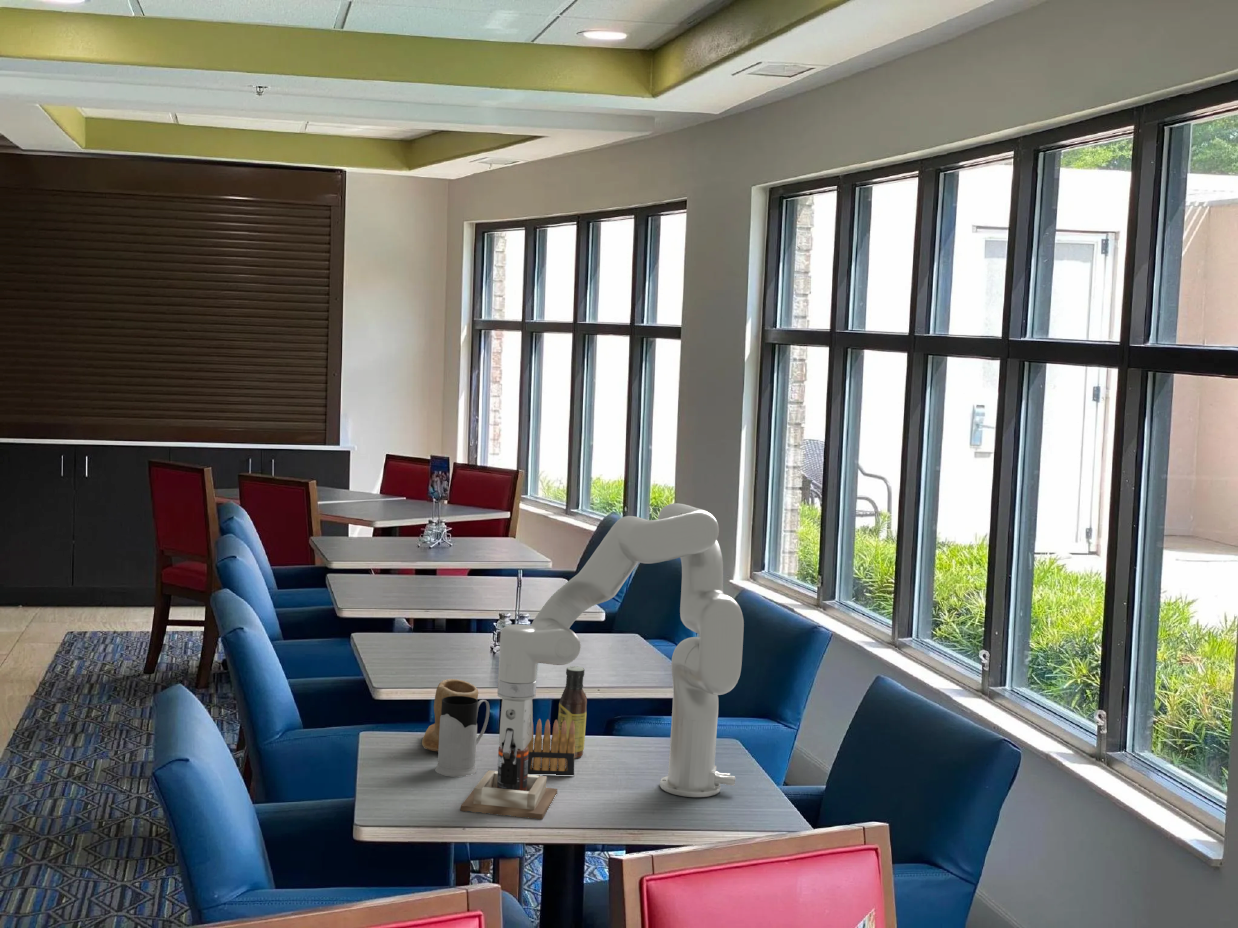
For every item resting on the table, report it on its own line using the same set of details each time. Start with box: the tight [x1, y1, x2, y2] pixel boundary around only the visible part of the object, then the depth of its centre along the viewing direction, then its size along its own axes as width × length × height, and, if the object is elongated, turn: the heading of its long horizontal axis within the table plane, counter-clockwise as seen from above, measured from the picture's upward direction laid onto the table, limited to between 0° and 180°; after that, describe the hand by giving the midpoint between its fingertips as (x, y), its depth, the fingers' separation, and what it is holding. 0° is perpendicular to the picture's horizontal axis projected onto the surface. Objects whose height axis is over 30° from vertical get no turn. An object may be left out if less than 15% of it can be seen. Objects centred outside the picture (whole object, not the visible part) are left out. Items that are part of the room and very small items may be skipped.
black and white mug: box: [435, 696, 491, 778], centre depth 284 cm, size 9×14×15 cm, turn 146°
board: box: [460, 770, 558, 820], centre depth 264 cm, size 16×16×4 cm
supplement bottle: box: [497, 745, 528, 791], centre depth 263 cm, size 6×6×11 cm
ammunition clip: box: [527, 718, 575, 776], centre depth 283 cm, size 11×2×12 cm, turn 94°
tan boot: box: [421, 678, 479, 752], centre depth 299 cm, size 15×12×15 cm
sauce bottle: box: [557, 665, 588, 759], centre depth 297 cm, size 7×6×20 cm
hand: (512, 777), depth 264 cm, fingers closed on supplement bottle, 6 cm apart
